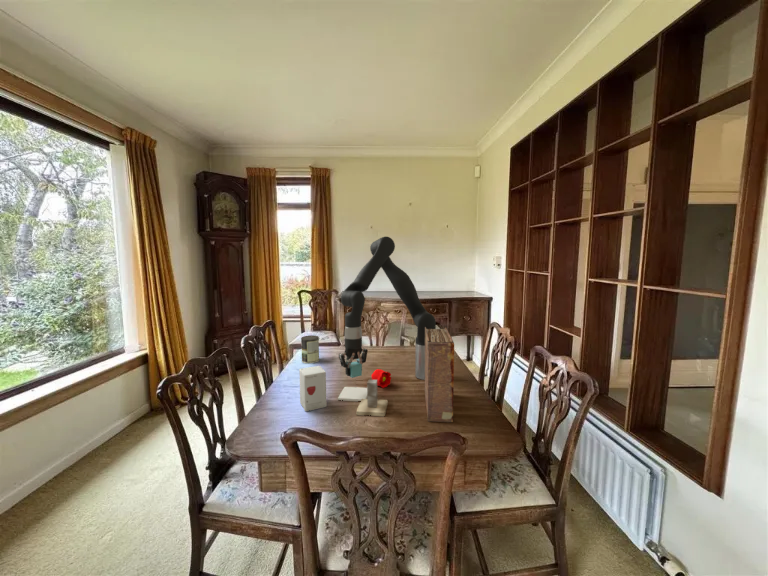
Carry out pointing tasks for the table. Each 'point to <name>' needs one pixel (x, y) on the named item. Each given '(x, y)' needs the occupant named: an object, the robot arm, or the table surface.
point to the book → (439, 375)
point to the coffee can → (310, 349)
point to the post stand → (372, 402)
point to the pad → (353, 394)
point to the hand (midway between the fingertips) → (353, 373)
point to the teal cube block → (355, 369)
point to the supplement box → (312, 388)
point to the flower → (381, 377)
